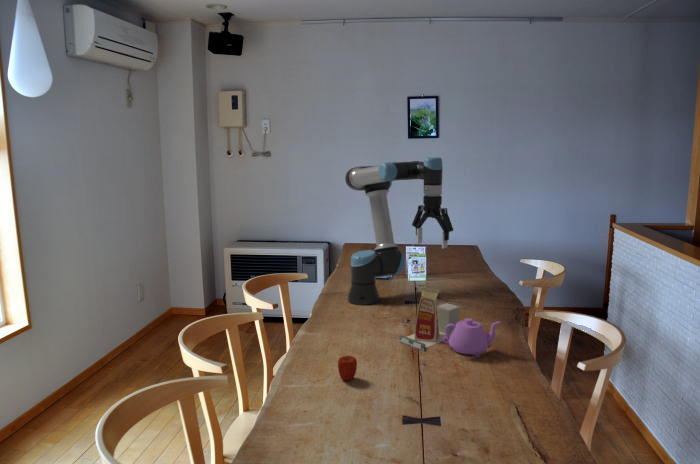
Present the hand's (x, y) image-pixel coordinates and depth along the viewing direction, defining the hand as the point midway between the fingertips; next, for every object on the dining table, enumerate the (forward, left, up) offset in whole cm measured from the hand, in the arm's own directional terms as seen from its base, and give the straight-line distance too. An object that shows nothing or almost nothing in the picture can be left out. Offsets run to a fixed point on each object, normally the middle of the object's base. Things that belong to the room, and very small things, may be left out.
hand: (431, 245), depth 226 cm
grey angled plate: (+16, -18, -32) cm, 40 cm away
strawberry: (+20, -65, -32) cm, 75 cm away
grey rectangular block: (+17, -10, -30) cm, 36 cm away
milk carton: (+16, -20, -31) cm, 40 cm away
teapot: (+34, -18, -32) cm, 50 cm away
